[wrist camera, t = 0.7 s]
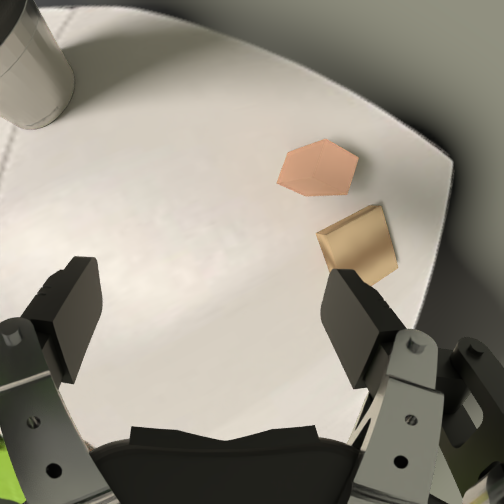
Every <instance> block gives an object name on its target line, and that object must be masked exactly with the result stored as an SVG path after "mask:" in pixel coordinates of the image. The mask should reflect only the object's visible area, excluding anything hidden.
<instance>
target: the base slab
mask: <svg viewBox="0 0 504 504" xmlns="http://www.w3.org/2000/svg"><path fill="white" fill-rule="evenodd" d="M316 236H317V238H318V241H319V244H320V247H321V249H322V252H323V255H324V258H325V261H326V263H327V266H328V269H329V272H331V270H332V269H353V270H355V271H356V273H357V274H358V275H359V276H360V278H361V279H362V280H363V281H364V283H367V284H368V285H370V286H372V285H374V284H375V283H377V282H378V281H380V280H381V279H383V278H384V277H386V276H387V275H389V274H390V273H392V272H393V271H394V270H396V269H397V268H398V265H397V261H396V257H395V253H394V249H393V245H392V241H391V238H390V234H389V231H388V227H387V224H386V220H385V217H384V213H383V210H382V207H381V206H367V207H365V208H364V209H362V210H360V211H358V212H356V213H354V214H352V215H350V216H348V217H346V218H344V219H342V220H341V221H339V222H337V223H335V224H333V225H331V226H329V227H327V228H325V229H323V230H321V231H319V232H317V233H316Z"/></svg>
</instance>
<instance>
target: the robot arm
mask: <svg viewBox="0 0 504 504" xmlns="http://www.w3.org/2000/svg"><path fill="white" fill-rule="evenodd" d="M74 84H75V81H74V74H73V71H72V69H71V67H70V65H69V64H68V62H67V60H66V58H65V57H64V55H63V53H62V51H61V49H60V48H59V46H58V44H57V42H56V40H55V39H54V37H53V35H52V33H51V31H50V30H49V28H48V26H47V24H46V22H45V20H44V18H43V17H42V15H41V13H40V11H39V9H38V7H37V5H36V4H35V2H34V0H0V117H2V118H4V119H5V120H7V121H9V122H11V123H13V124H14V125H16V126H18V127H20V128H22V129H26V130H32V129H38V128H41V127H43V126H46V125H48V124H49V123H51V122H52V121H54V120H55V119H56V118H57V117H58V116H59V115H60V114H61V113H62V112H63V111H64V109H65V108H66V107H67V105H68V103H69V101H70V99H71V97H72V94H73V91H74ZM101 312H102V292H101V286H100V279H99V271H98V264H97V260H96V258H94V257H79V256H74V257H73V258H72V260H71V261H70V262H69V263H68V265H67V266H66V267H65V269H64V270H59V271H57V272H56V273H54V274H53V275H51V276H50V277H49V278H48V279H47V281H46V282H45V283H44V285H43V288H42V287H41V289H40V290H39V291H38V293H37V295H35V297H34V298H33V300H32V301H31V302H30V304H29V305H28V307H27V308H26V310H25V311H24V312H23V314H22V315H21V317H16V318H10V319H7V320H4V321H2V322H1V323H0V427H1V431H2V434H3V438H4V441H5V444H6V447H7V451H8V454H9V457H10V460H11V462H12V465H13V468H14V471H15V473H16V476H17V479H18V481H19V484H20V486H21V489H22V491H23V493H24V496H25V498H26V501H25V502H24V503H22V504H448V503H446V502H444V501H442V500H440V499H438V498H437V497H435V496H433V495H431V494H430V489H431V484H432V479H433V475H434V469H435V464H436V458H437V453H438V446H440V448H441V451H442V453H443V455H444V457H445V459H446V461H447V464H448V466H449V468H450V470H451V472H452V475H453V477H454V479H455V482H456V484H457V486H458V488H459V491H460V493H461V496H462V498H463V502H462V504H504V368H503V366H502V365H501V364H500V363H499V361H498V360H497V359H496V357H495V356H494V355H493V354H492V352H491V351H490V350H489V349H488V347H487V346H485V345H484V344H483V343H482V342H480V341H478V340H476V339H473V338H470V337H464V338H461V339H460V340H459V341H458V343H457V345H456V347H455V348H454V350H449V349H441V348H437V345H436V343H435V342H434V340H433V339H432V338H431V337H430V336H428V335H427V334H425V333H423V332H421V331H418V330H414V329H407V328H406V327H405V326H404V324H403V323H402V322H401V321H400V319H399V318H398V317H397V315H396V314H395V313H394V312H393V310H392V309H391V308H389V305H388V304H387V303H386V301H384V299H383V298H382V296H381V295H380V294H379V293H378V291H377V290H375V289H374V288H373V287H371V286H370V285H368V284H367V283H364V281H363V280H362V279H361V278H360V276H359V275H358V274H357V273H356V271H355V270H353V269H332V270H331V272H330V274H329V278H328V282H327V286H326V289H325V293H324V297H323V301H322V305H321V321H322V324H323V326H324V328H325V330H326V332H327V334H328V336H329V338H330V340H331V343H332V345H333V347H334V349H335V351H336V353H337V355H338V357H339V359H340V362H341V364H342V366H343V368H344V370H345V372H346V374H347V377H348V379H349V381H350V383H351V385H352V387H353V389H359V388H366V387H367V388H368V390H369V392H368V394H367V396H366V398H365V400H364V403H363V405H362V408H361V411H360V413H359V416H358V418H357V421H356V423H355V426H354V428H353V431H352V433H351V435H350V438H349V440H348V442H347V444H345V443H343V442H339V441H336V440H333V439H327V438H321V437H318V434H317V431H316V428H315V425H312V426H303V427H293V428H282V429H271V430H268V431H264V432H260V433H257V434H253V435H249V436H245V437H241V438H237V439H233V440H228V441H223V440H217V439H212V438H208V437H203V436H199V435H195V434H191V433H187V432H183V431H179V430H169V429H155V428H144V427H134V426H131V433H130V439H123V440H119V441H114V442H111V443H108V444H105V445H102V446H100V447H98V448H96V449H94V450H92V451H89V449H88V448H87V446H86V444H85V442H84V441H83V439H82V437H81V435H80V433H79V431H78V430H77V428H76V426H75V424H74V422H73V420H72V418H71V416H70V414H69V412H68V410H67V407H66V405H65V403H64V401H63V399H62V397H61V394H60V392H59V390H58V389H59V387H60V384H61V382H63V383H69V384H74V383H75V380H76V377H77V374H78V372H79V369H80V366H81V363H82V361H83V358H84V355H85V353H86V350H87V348H88V345H89V343H90V340H91V338H92V335H93V333H94V330H95V328H96V325H97V323H98V320H99V318H100V316H101ZM470 393H472V394H473V396H474V397H475V399H476V400H477V402H478V404H479V405H480V407H481V409H482V411H483V421H482V424H481V425H480V427H479V428H478V429H476V427H475V425H474V423H473V422H472V420H471V418H470V416H469V415H468V413H467V411H466V410H465V408H464V406H463V405H462V404H463V403H464V401H465V400H466V399H467V397H468V396H469V395H470Z"/></svg>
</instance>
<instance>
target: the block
mask: <svg viewBox="0 0 504 504" xmlns="http://www.w3.org/2000/svg"><path fill="white" fill-rule="evenodd" d="M358 159H359V157H357V156H355V155H353V154H352V153H350V152H348V151H347V150H345V149H343V148H342V147H340V146H338V145H336V144H335V143H333V142H331V141H329V140H327V139H323V140H321V141H318V142H315V143H312V144H309V145H307V146H304V147H301V148H298V149H296V150H293V151H290V152H288V153H287V156H286V159H285V162H284V164H283V167H282V170H281V172H280V175H279V178H278V181H277V184H280V185H282V186H284V187H286V188H288V189H291V190H293V191H295V192H297V193H299V194H302V195H304V196H327V195H347V194H348V191H349V188H350V185H351V181H352V178H353V175H354V172H355V169H356V165H357V162H358Z"/></svg>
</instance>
